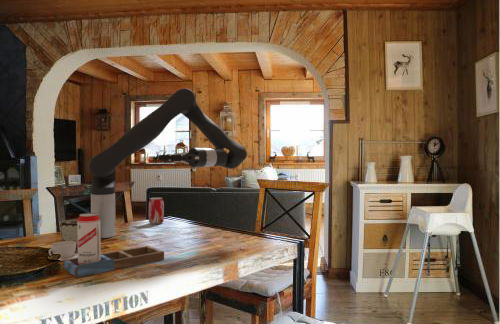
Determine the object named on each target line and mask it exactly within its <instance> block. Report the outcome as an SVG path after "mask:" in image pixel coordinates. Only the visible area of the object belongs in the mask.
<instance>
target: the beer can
mask: <svg viewBox="0 0 500 324" xmlns="http://www.w3.org/2000/svg"><path fill="white" fill-rule="evenodd" d="M77 219H78V221H77V231H78V251H77V253H78V257H77V258H78V265H81V264H86V263H92V262H97V261H101V254H102V253H101V252H102V250H101V249H102V247H101V246H102V245H101V244H102V243H101V240H102V238H101V233H100V218H99V216H98V213H91V212H86V213H80V214H79V217H78V218H77Z"/></svg>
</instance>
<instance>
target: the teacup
mask: <svg viewBox="0 0 500 324" xmlns="http://www.w3.org/2000/svg"><path fill="white" fill-rule="evenodd" d="M50 246H51V248H49V249H48V255H49V256H51V255H52V254H60V255H61V260H60V261H59V262H61V261H62V262H63V260H67V259H73V258H78V252H76V251H75V250H76V242H74V241H57V242H53V243H51V245H50Z"/></svg>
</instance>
